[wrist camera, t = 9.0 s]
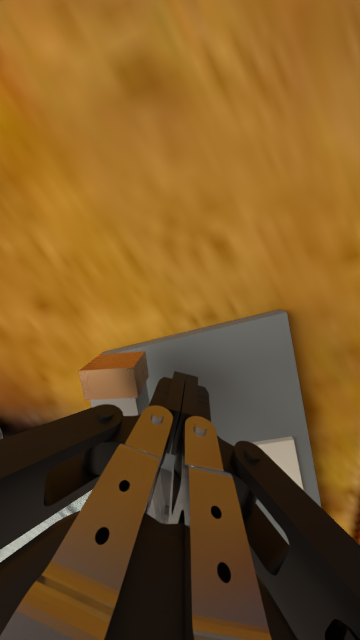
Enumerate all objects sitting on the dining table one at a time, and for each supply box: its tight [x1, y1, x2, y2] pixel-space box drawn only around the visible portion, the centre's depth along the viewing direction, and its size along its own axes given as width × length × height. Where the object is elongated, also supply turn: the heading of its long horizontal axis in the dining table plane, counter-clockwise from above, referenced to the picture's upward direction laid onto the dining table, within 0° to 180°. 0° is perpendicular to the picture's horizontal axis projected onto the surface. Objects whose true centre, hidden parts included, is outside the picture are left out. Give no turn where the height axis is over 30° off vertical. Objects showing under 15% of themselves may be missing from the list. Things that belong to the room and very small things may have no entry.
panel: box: [102, 309, 321, 572], centre depth 15 cm, size 24×14×4 cm, turn 15°
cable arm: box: [79, 351, 169, 524], centre depth 12 cm, size 4×15×2 cm, turn 7°
